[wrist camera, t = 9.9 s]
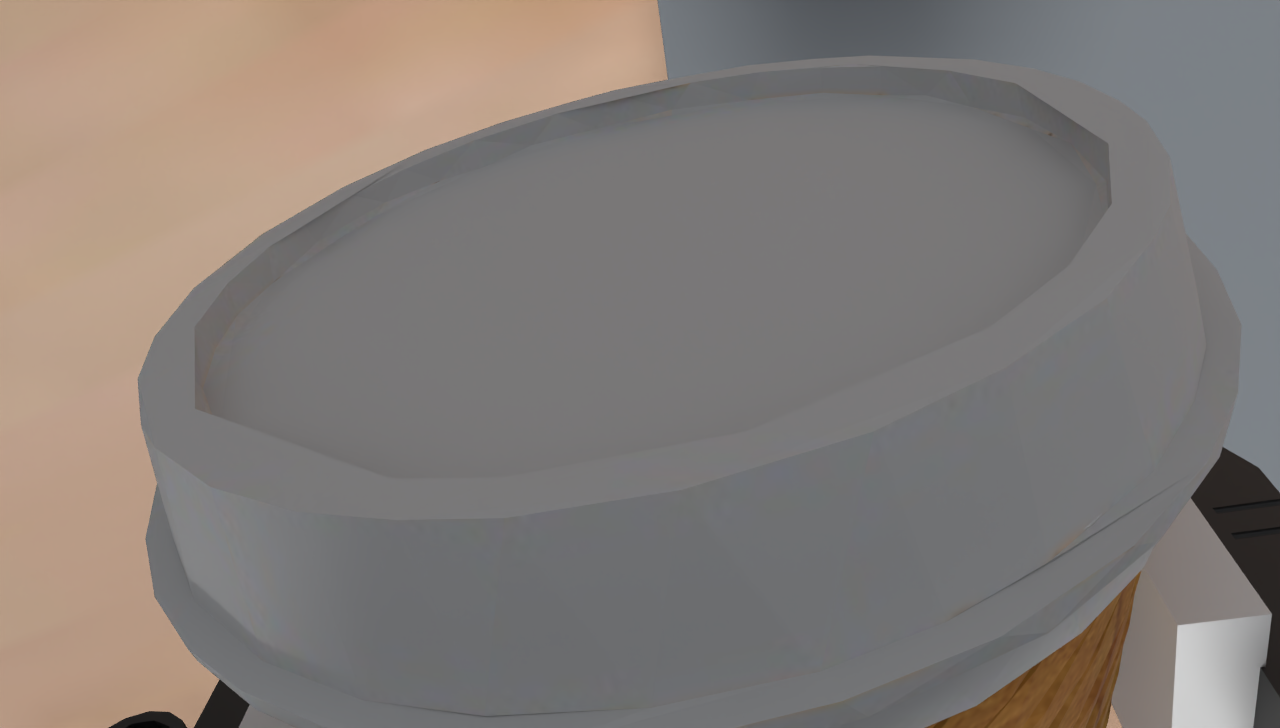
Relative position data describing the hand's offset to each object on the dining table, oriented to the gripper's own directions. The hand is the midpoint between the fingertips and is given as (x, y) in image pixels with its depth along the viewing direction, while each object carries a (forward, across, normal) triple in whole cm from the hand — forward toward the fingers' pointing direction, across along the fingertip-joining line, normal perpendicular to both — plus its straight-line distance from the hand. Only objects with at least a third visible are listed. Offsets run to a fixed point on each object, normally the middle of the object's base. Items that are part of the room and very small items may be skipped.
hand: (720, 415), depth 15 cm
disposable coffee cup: (-5, 0, -7) cm, 8 cm away
